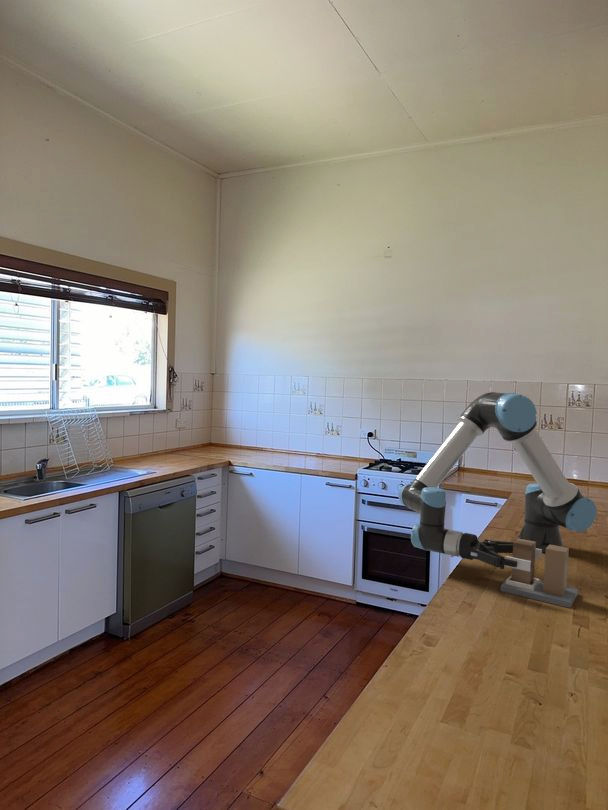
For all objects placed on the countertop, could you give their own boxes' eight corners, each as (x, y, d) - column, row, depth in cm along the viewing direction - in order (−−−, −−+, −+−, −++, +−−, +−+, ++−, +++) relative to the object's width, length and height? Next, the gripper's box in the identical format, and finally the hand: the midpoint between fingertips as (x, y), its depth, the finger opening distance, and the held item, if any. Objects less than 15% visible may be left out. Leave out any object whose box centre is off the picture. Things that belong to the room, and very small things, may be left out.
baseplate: (511, 579, 167) (514, 534, 166) (577, 594, 157) (580, 546, 156) (500, 591, 157) (503, 543, 156) (570, 608, 147) (573, 557, 146)
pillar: (515, 579, 163) (517, 538, 162) (533, 583, 160) (536, 541, 160) (510, 583, 159) (513, 542, 158) (529, 588, 156) (531, 545, 155)
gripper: (474, 547, 180) (544, 562, 168) (446, 567, 159) (524, 585, 147) (475, 524, 179) (546, 537, 167) (447, 541, 159) (526, 557, 147)
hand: (536, 560), depth 157 cm, fingers open, 13 cm apart
